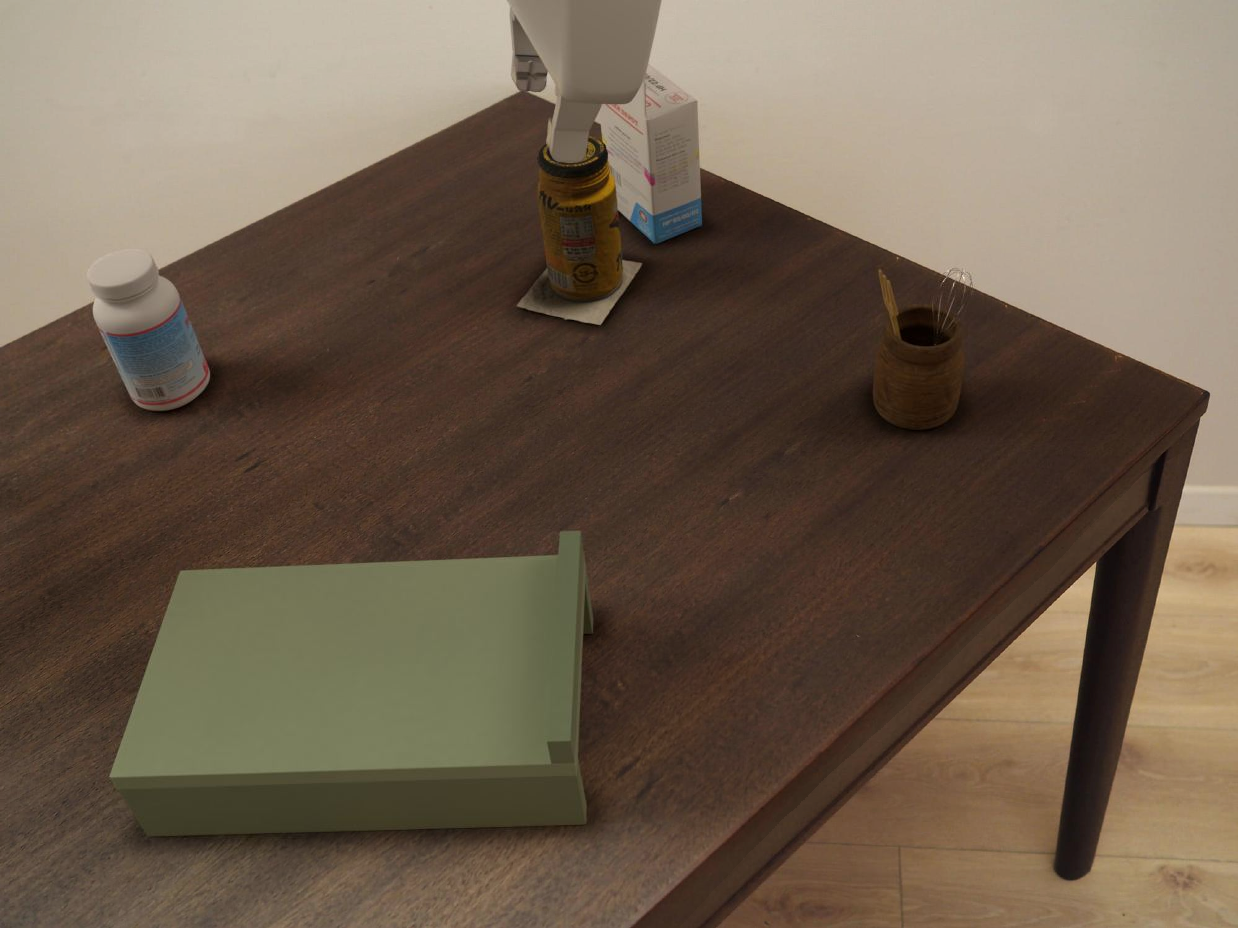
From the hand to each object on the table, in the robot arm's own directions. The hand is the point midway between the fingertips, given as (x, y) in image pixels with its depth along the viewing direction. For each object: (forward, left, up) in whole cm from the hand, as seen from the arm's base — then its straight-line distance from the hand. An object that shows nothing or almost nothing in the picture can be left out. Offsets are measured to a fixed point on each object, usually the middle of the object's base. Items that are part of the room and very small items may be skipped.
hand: (545, 120), depth 69 cm
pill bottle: (-32, +11, -27) cm, 43 cm away
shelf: (-11, -20, -26) cm, 35 cm away
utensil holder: (+23, +5, -27) cm, 35 cm away
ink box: (+5, +31, -27) cm, 41 cm away
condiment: (-1, +21, -27) cm, 34 cm away
